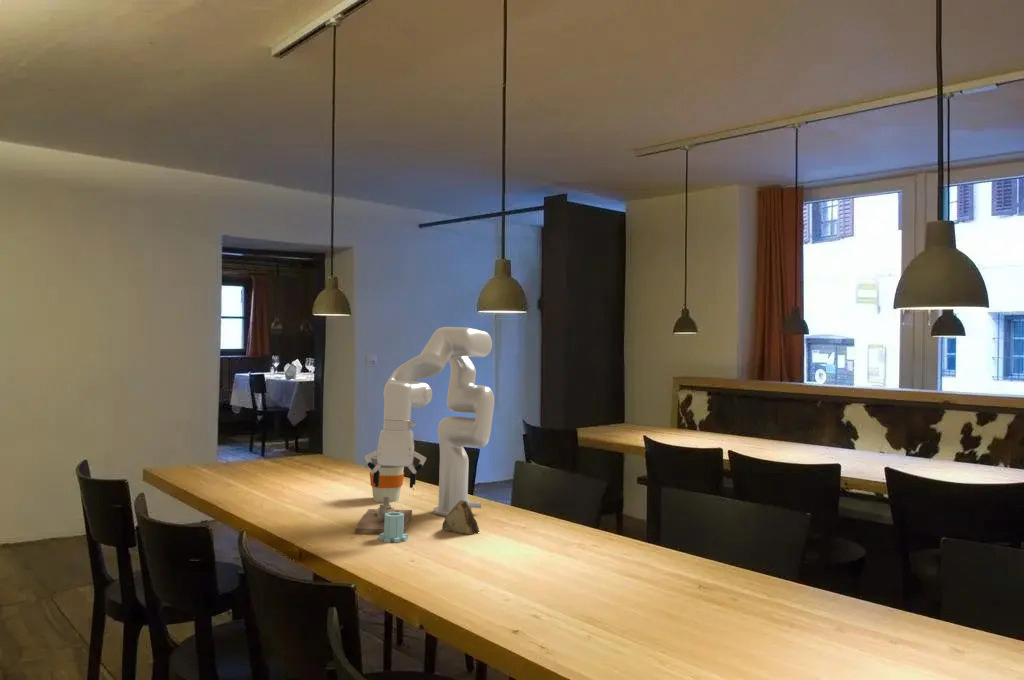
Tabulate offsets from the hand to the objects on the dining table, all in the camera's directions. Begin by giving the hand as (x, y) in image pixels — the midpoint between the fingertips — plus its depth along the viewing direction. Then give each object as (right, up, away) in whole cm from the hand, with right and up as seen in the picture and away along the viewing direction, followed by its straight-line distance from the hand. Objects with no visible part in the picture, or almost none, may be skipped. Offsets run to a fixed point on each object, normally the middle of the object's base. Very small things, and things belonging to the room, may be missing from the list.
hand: (394, 486), depth 209 cm
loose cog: (0, -15, 0) cm, 15 cm away
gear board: (-6, -15, +18) cm, 24 cm away
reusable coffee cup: (-11, -15, +52) cm, 55 cm away
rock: (+18, -16, +11) cm, 26 cm away
